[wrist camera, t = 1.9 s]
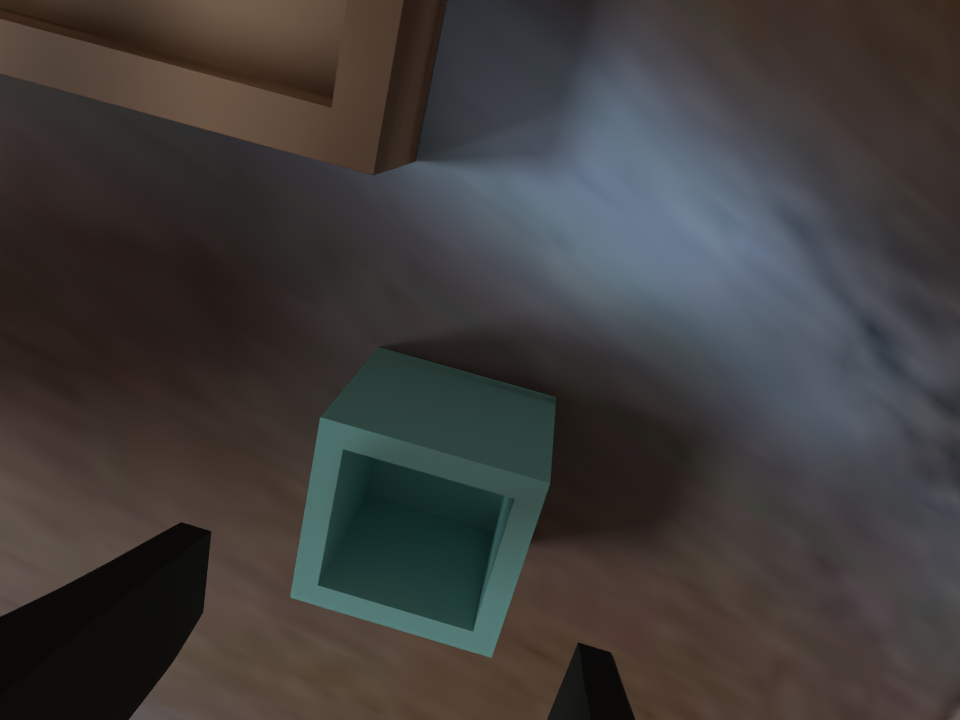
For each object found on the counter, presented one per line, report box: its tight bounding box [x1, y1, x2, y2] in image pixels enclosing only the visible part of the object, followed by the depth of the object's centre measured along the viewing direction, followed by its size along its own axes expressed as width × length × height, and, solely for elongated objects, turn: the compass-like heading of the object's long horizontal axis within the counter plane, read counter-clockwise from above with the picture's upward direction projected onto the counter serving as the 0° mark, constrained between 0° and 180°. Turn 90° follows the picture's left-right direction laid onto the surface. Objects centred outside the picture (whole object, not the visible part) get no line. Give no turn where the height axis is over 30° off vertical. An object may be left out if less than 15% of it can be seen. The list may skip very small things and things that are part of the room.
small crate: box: [290, 347, 556, 658], centre depth 17 cm, size 5×5×4 cm
